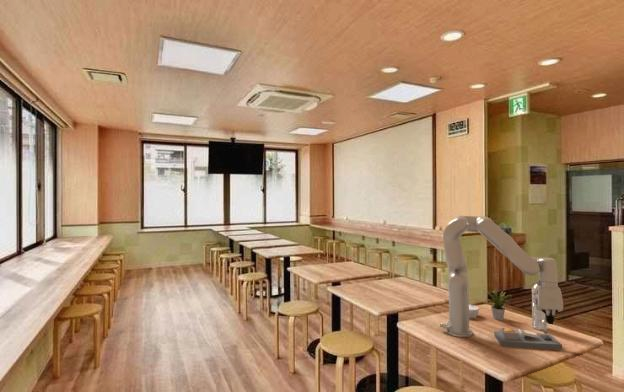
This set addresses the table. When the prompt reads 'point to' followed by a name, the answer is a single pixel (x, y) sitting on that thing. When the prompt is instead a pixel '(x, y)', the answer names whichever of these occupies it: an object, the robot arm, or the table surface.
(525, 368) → the table surface
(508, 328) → the push button
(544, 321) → the toggle lever
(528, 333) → the rocker switch
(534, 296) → the water bottle
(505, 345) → the control panel
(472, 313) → the ramekin
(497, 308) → the house plant
